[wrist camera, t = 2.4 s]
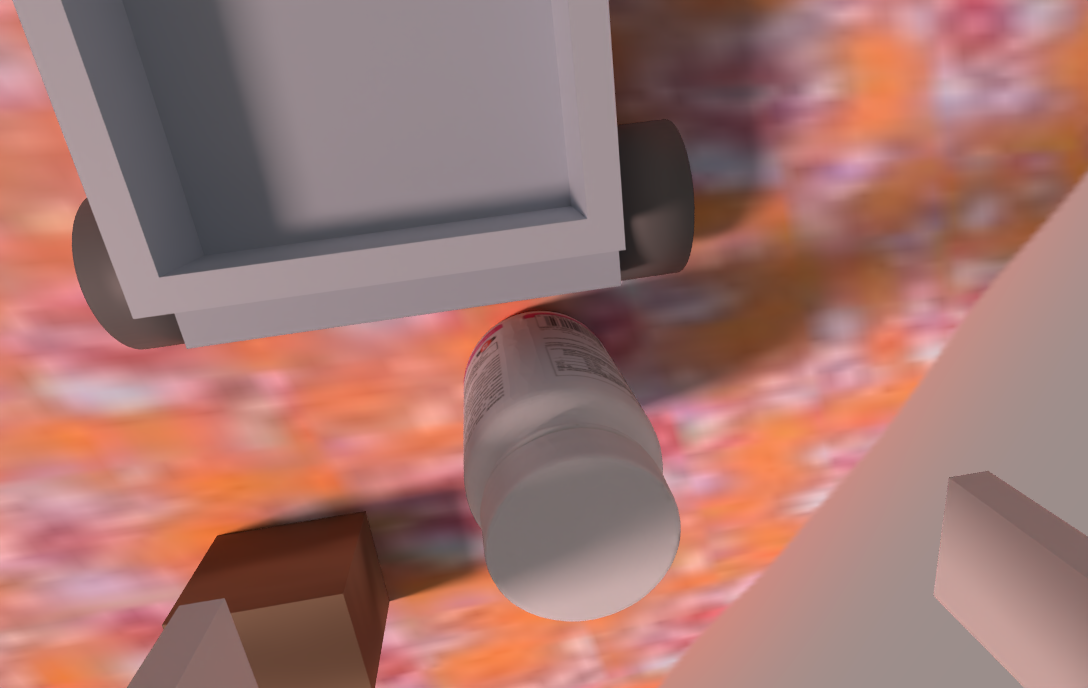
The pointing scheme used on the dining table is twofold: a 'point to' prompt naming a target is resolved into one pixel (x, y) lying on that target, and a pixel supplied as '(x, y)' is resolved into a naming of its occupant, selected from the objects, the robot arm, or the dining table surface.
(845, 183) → the dining table surface
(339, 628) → the block
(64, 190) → the dining table surface
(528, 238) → the trolley
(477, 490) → the pill bottle
